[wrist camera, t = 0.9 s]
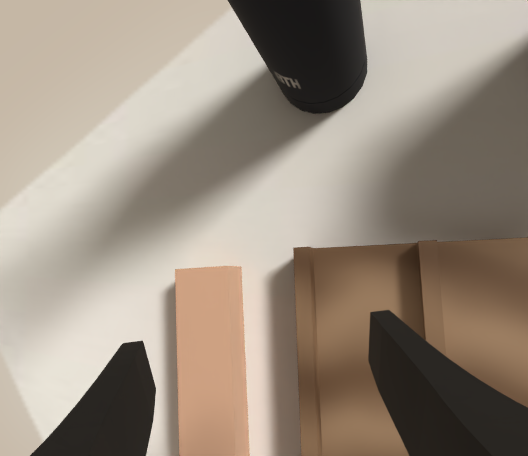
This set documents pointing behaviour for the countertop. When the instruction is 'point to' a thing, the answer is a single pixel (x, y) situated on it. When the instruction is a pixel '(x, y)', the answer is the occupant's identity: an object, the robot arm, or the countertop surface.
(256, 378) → the countertop surface
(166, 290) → the countertop surface
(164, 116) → the countertop surface
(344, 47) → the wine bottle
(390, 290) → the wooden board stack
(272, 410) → the countertop surface
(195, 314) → the clay strip
